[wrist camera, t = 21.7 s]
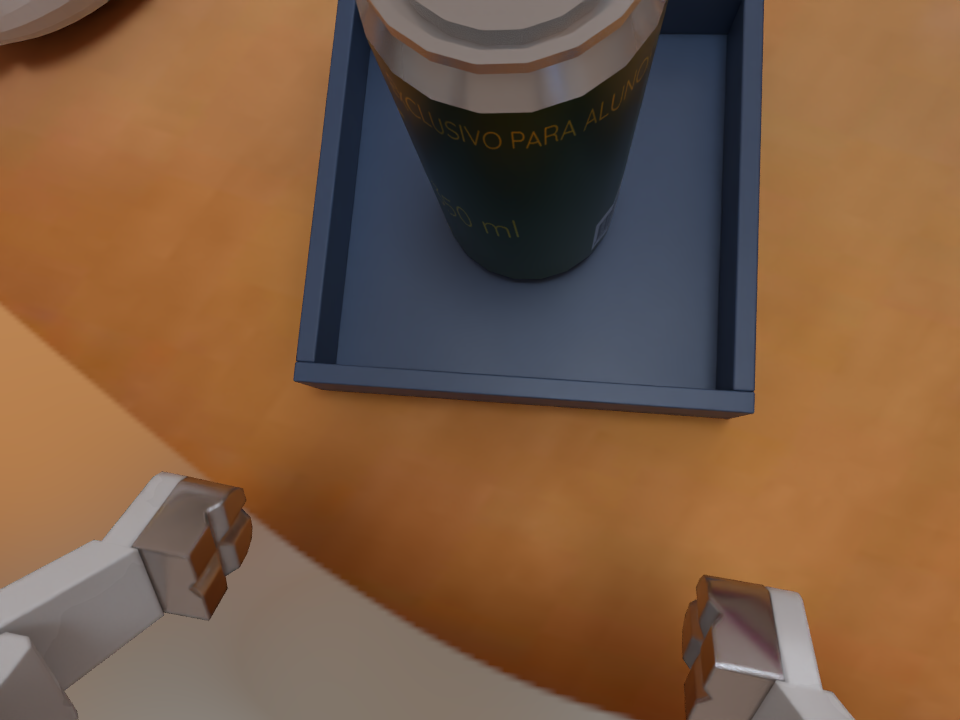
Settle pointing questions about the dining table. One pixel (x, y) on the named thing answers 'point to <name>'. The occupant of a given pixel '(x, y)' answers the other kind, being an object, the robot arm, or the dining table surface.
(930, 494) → the dining table surface
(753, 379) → the tray
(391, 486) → the dining table surface
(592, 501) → the dining table surface
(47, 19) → the game controller
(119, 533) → the robot arm
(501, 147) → the beer can
